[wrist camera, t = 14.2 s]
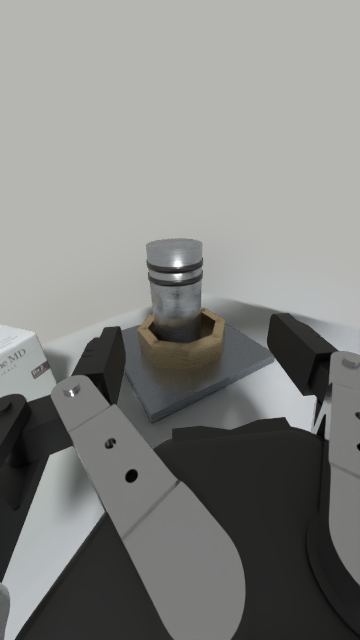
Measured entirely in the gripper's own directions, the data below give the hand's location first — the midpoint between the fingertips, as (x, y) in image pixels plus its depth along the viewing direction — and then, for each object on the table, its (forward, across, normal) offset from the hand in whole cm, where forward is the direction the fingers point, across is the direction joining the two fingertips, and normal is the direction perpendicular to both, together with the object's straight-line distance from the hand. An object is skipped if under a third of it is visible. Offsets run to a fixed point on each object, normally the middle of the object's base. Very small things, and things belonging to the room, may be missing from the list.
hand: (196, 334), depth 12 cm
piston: (+11, +1, +8) cm, 14 cm away
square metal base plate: (+11, 0, +9) cm, 14 cm away
